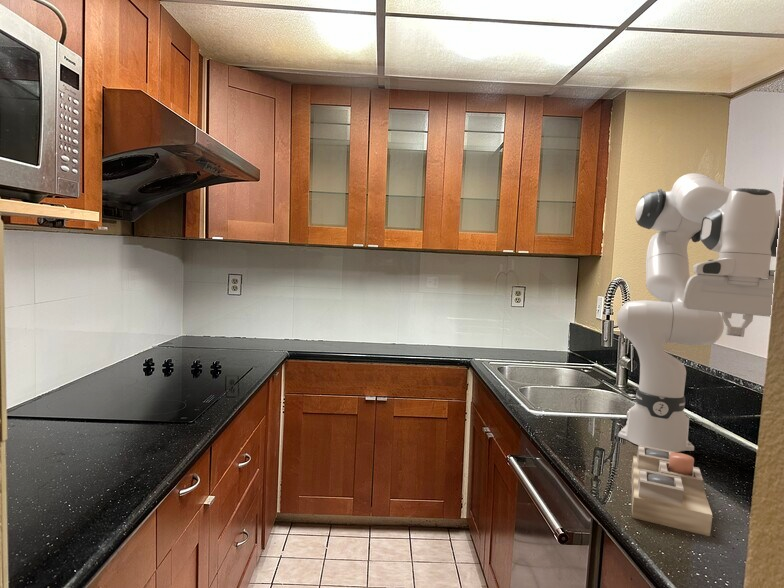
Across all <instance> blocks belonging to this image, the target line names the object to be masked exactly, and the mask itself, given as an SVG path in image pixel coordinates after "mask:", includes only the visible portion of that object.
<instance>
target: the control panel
mask: <svg viewBox="0 0 784 588" xmlns="http://www.w3.org/2000/svg"><path fill="white" fill-rule="evenodd" d="M637 446H638V447H637V455H632V465H631V518H632V519H635V520H641V521H645V522H649V523H653V524H657V525H662V526H665V527H669V528H674V529H677V530H682V531H687V532H691V533H695V534H697V535H698V534H699V535H703V536H706V537H707V536H708V537H710V536H711V530H712V522H713V513H712V509H711V506H710V503H709V500H708V497H707V495H706V492H705V491H706V490H705V488H704V479H703V476H702V473H701V469H700V467H696V466H693V474H692V475H684V474H679V473H674V472H672V471H670V470H669V469H668V467H669V458H670V453H674V452H673V451H668V450H663V449H657V448H652V447H647V446H642V445H637ZM647 449H655V450H660V451H663V452H665V453H667V454H668V459H665V458H660V457H655V456H650V455H646V450H647ZM649 474H660V475H664V476H667V477H669V478H671V479H672V480H673V481H674V482H673V486H669V485H664V484H660V483H655V482H650V481H648V475H649Z"/></svg>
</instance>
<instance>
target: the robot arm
mask: <svg viewBox="0 0 784 588" xmlns="http://www.w3.org/2000/svg"><path fill="white" fill-rule="evenodd" d="M776 204H777V203H776V196H775V193H774V192H773V191H771V190H769V189H766V188H765V189H762V188H761V189H759V188H747V187H746V188H743V187H741V188H735V189H730V188H728V187H726V186H725V185H723V184H720V182H718V181H716V180H714V179H713V178H711V177H710V176H708V175H705V174H702V173H696V172H695V173H693V172H690V173H687V174H684V175H682V176H680V177H678V178H677V180H676V181H675V182H674V183H673V186H672V187H671V189H670V190H669V191H664V190H663V189H662V188H660V189H657V190H656V191H650V192H648V193H646V194H644V195H642V196H641V197H640V198H639V200H638V202H637V204H636V207H635V212H634V213H635V222H636V223H637V226H640V227H641V228H644V229H647V230H654V231H659V232H656V233H655V234H653V235H652V236H651V238H650V240H649V242H648V245H647V250H646V257H645V286H646V288H647V291H648V293H650V295H651V296H653V297H654V298H656V299H658V300H659V301H658V300H649V299H647V300H646V299H642V300H639V299H638V300H632V301H631V300H629V301H626V302H625V303H624V304H622V306H621V307H620V308H619V310H618V312H617V315H616V324H617V327H618V330H619V331H620V333H621V334H623V336H624V337H625V338H627V340H628V341H630V342H631V344H632V345H633V347H634V349H635V350H636V353H637V356H638V359H639V383H638V388H637V390H636V393H635V404H634V405H632V406H631V408H629V409H628V410H627V412H626V419H627V420H626V422H625V425H624V426H623V428H622V429H621V430H620V431H618V434H617V437H618V438H621V439H624V440H626V441H629V442H630V443H632V444H635V445H637V446H638V445H642V446H647V447H652V448H657V449H663V450H668V451H673V452H676V453H682V452H685V451H689V452H691V451H692V452H693V451H695V445H693V444H692V442H690V441H689V429H690V419H689V418H688V416H687V415H686V414H685V412H684V410H685V405H686V396H685V395H684V394H685V388H686V387H685V386H686V379H687V370H686V369H687V368H686V366H685V365H684V362H682V361H681V360H680V359H678V358H677V357H675V356H673V355H671V354H669V353H667V352H666V351H665V348H664V347H665V344H676V345H677V344H678V345H686V346H705V345H714V344H715V343H716V342H717V341H718V340H719V339H720V338H721V336H722V335H723V333H724V330H725V329H724V326H726V332H725V335H726V336H732V337H741V338H743V337H744V336H745V330H746V329H747V328H748V327H749V325H750V324H751V323H752V322H753V320H754V316H759V317H769V318H771V317H770V315H771V305H772V294H773V283H774V272H775V271H776V270H775V269H774V270H773V269H771V268H770V267H771V262H772V261H771V260H772V258H773V257H774V258H777V257H776V247H777V239H778V228H779V216H780V210H781V209H779V210H776V209H777V206H776ZM690 240H691V241H692V243H697V242H702V244H703V245H704V247H706V248H707V250H709V251H713V252H717V253H718V258H717V259H709V260H707V261H703V262H702V261H701V262H697V263H695V264H694V265H693V266H692V272H693V273H694V274H693V275H690V265H689V255H688V245H689V242H690ZM732 314H736V315H742V320H744V321H743V323H741V325H740V326H732V324H731V322H730V320H729V319H732Z"/></svg>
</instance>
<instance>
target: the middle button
mask: <svg viewBox="0 0 784 588" xmlns="http://www.w3.org/2000/svg"><path fill="white" fill-rule="evenodd" d="M694 463H695V458H694V457H693V456H692V455H689V454H687V453H686V454H685V453H682V452H674V453H670V458H669V467H668V469H669V470H670V471H672V472H674V473H679V474H684V475H692V474H693V467H695V466H694Z"/></svg>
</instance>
